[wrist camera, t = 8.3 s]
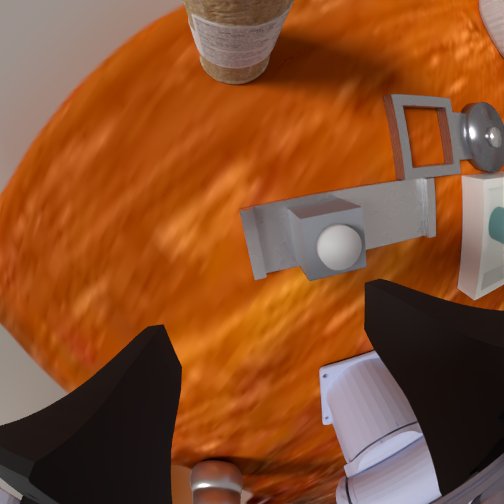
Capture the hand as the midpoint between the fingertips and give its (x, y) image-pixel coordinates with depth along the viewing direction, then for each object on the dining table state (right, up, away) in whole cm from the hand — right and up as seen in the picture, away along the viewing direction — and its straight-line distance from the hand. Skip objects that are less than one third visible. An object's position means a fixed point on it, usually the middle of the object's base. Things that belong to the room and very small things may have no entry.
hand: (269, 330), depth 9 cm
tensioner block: (+16, +12, +8) cm, 22 cm away
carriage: (+4, +4, +9) cm, 10 cm away
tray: (+24, +5, +10) cm, 27 cm away
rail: (+6, +5, +9) cm, 12 cm away
